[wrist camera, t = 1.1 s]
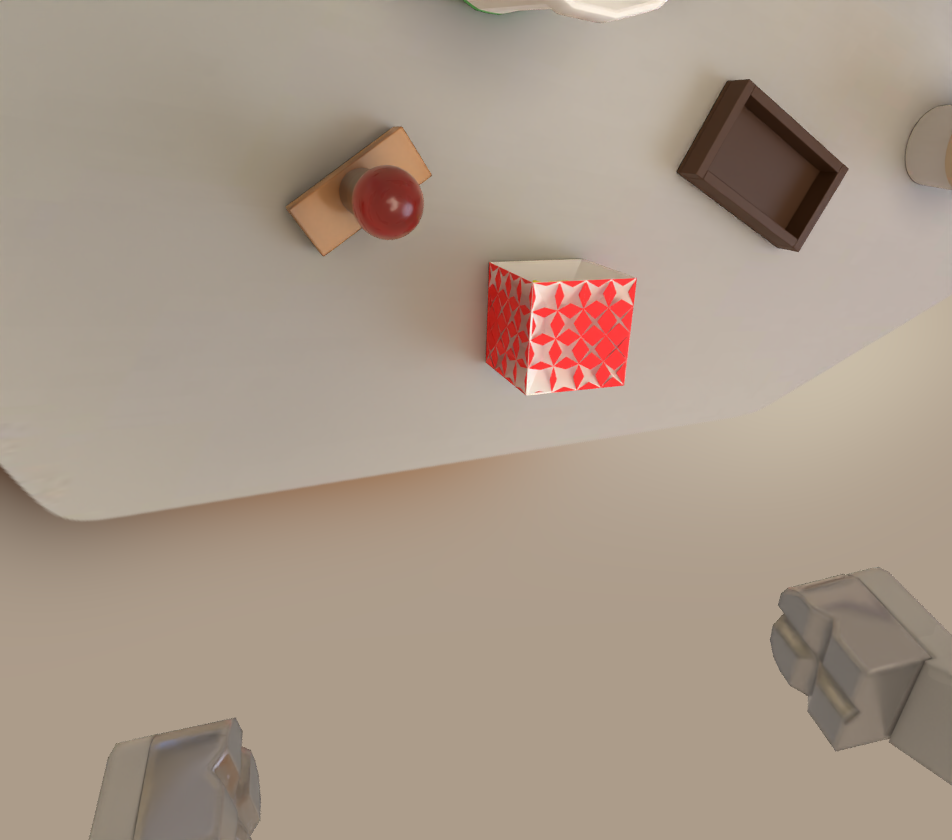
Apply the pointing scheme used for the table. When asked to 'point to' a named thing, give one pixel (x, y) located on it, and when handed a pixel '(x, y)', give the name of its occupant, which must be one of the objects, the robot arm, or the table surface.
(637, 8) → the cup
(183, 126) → the table surface
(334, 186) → the stamp
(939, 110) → the coffee cup
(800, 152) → the stamp tray
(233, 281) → the table surface
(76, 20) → the table surface
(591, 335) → the red and white cube
